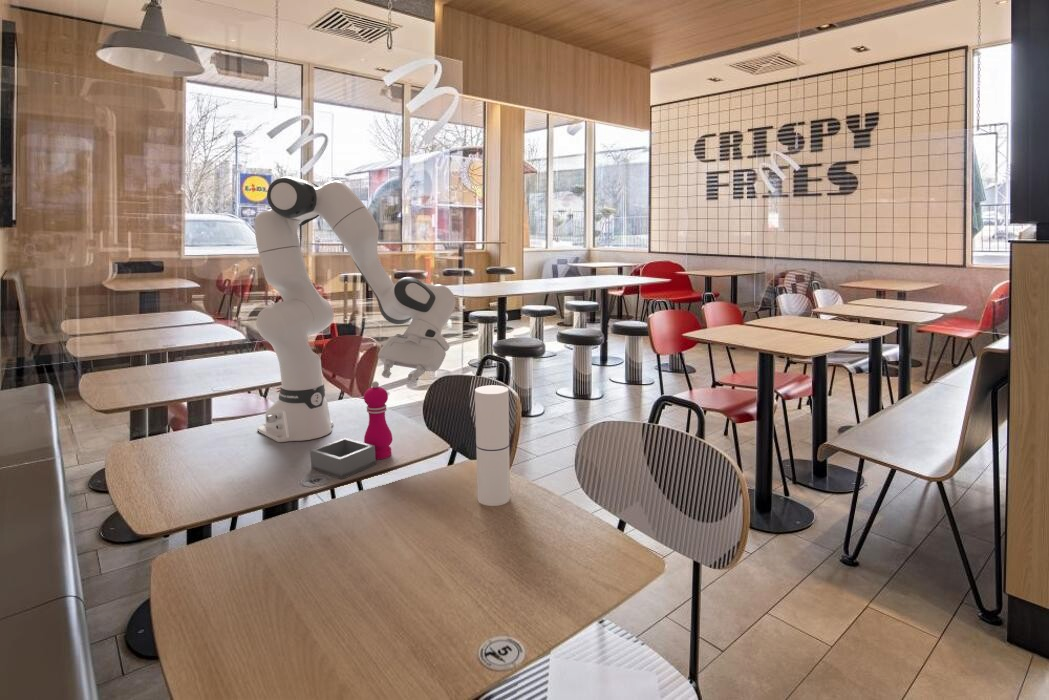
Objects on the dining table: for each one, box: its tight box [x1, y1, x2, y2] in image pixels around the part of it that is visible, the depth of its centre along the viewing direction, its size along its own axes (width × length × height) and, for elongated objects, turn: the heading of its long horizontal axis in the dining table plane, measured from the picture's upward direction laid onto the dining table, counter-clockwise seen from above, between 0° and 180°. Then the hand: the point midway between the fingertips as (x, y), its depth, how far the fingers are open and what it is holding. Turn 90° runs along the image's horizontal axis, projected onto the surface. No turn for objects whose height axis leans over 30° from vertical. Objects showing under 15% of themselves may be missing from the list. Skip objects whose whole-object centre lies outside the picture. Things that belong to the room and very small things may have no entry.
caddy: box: [309, 437, 377, 480], centre depth 159 cm, size 11×11×5 cm
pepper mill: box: [363, 380, 393, 460], centre depth 165 cm, size 7×7×20 cm
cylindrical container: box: [474, 384, 511, 507], centre depth 138 cm, size 7×7×25 cm
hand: (397, 379), depth 170 cm, fingers open, 8 cm apart
